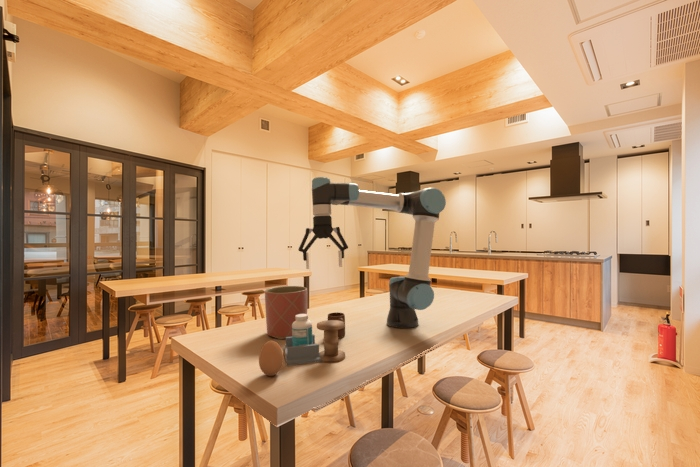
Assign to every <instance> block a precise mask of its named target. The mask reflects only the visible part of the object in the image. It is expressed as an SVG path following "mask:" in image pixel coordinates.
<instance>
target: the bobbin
mask: <svg viewBox="0 0 700 467" xmlns="http://www.w3.org/2000/svg"><path fill="white" fill-rule="evenodd" d="M344 326H345V327H346V323H345V324H344V322H342V321H338V320H328V319H327V320H322V321H318V322H317V323H316V328H317V329H318V330H320V331H323V345H324V346H323V347H324V349H323V350H322V351H319V353H320V354H319V355H320V356H321V359H322V363H327V364H328V363H329V364H331V363H332V364H333V363H339V362H341V361H343V360H344V359H345V358H346V352H345V351H343V350H341V349H339V338H338V330H339V329H342V328H344ZM318 357H319V356H318Z"/></svg>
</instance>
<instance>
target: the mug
mask: <svg viewBox="0 0 700 467" xmlns="http://www.w3.org/2000/svg"><path fill="white" fill-rule="evenodd" d="M327 320H338V321H342V322H344V324H345V326H344V328H342V329H339V330H338V339H341V338H344V337H346V317H345V313H344V312H331V313H328V314H327Z"/></svg>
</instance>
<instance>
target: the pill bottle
mask: <svg viewBox="0 0 700 467" xmlns="http://www.w3.org/2000/svg"><path fill="white" fill-rule="evenodd" d="M295 319H296V321H294V322H293V324H292V336H291V337H292V342H293V346H301V345H310V344H313V339H312V334H313V323H312V321H311V320H310V319H309V314H308V313H307V314H298V315H296V316H295Z"/></svg>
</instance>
